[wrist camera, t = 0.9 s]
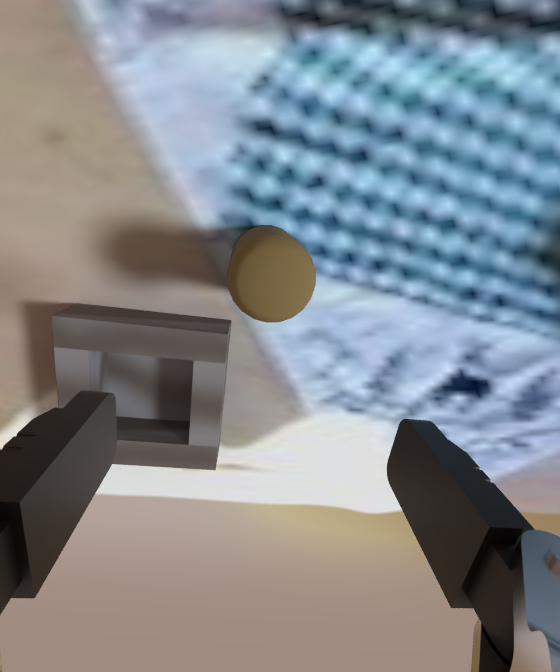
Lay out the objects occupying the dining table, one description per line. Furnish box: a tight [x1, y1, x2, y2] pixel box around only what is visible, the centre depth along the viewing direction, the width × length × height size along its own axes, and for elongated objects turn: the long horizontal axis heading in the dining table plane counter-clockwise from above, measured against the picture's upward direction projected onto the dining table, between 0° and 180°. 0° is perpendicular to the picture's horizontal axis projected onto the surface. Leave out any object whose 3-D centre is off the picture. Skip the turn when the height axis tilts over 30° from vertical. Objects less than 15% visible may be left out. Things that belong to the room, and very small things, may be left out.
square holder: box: [51, 304, 231, 470], centre depth 29 cm, size 13×13×4 cm
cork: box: [227, 225, 316, 322], centre depth 23 cm, size 6×6×11 cm
